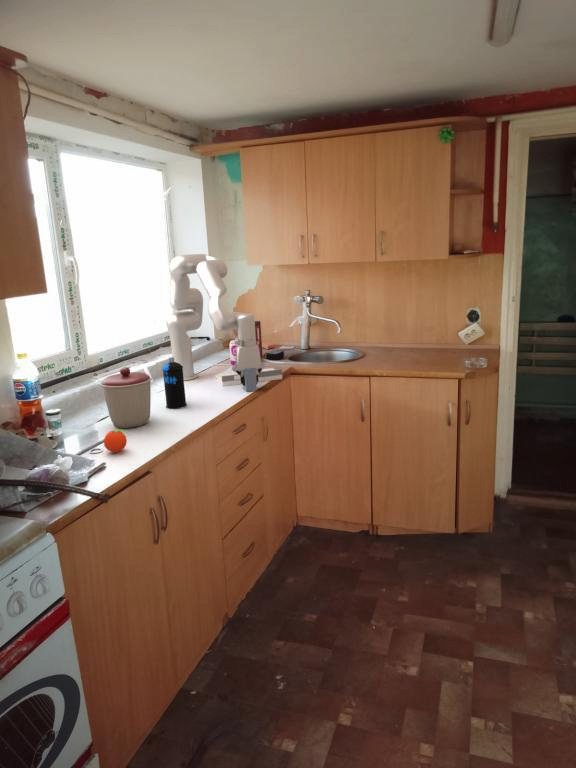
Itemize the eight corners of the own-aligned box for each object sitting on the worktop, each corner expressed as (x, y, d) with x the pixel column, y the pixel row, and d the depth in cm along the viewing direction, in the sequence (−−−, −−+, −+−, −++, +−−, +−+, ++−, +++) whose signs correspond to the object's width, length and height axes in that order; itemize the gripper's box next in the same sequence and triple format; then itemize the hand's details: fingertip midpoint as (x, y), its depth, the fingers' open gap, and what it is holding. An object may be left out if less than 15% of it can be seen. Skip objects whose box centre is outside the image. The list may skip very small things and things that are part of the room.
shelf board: (222, 386, 255) (221, 376, 254) (216, 378, 270) (215, 369, 269) (282, 379, 262) (282, 369, 261) (273, 371, 277) (272, 362, 276)
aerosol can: (177, 402, 233) (172, 354, 228) (191, 405, 228) (186, 356, 223) (161, 407, 227) (156, 358, 222) (175, 410, 222) (169, 360, 217)
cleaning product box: (247, 357, 317) (244, 321, 312) (262, 356, 315) (260, 320, 310) (239, 363, 301) (236, 325, 296) (255, 363, 299) (253, 325, 295)
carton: (246, 391, 243) (245, 369, 240) (242, 388, 249) (241, 365, 247) (257, 390, 244) (256, 367, 241) (253, 386, 250) (252, 364, 248)
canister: (95, 427, 205) (87, 370, 200) (133, 413, 220) (127, 360, 214) (129, 434, 195) (121, 375, 190) (167, 420, 210) (161, 364, 205)
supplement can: (245, 371, 281) (243, 341, 277) (229, 371, 283) (226, 342, 279) (249, 368, 289) (247, 338, 285) (234, 368, 290) (231, 339, 287)
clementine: (129, 445, 185) (127, 424, 183) (132, 452, 178) (130, 430, 177) (104, 450, 182) (101, 429, 180) (106, 457, 175) (103, 435, 174)
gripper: (229, 346, 236) (232, 388, 240) (268, 342, 240) (270, 384, 245) (225, 343, 243) (228, 384, 247) (264, 339, 247) (266, 380, 252)
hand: (249, 383), depth 246 cm, fingers closed on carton, 4 cm apart
